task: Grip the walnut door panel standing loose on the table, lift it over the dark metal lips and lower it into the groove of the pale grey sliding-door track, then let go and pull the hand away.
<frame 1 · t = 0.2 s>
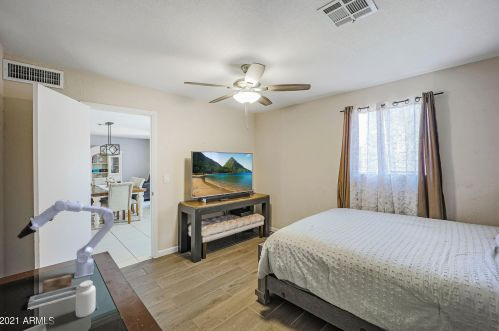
hand: (20, 235, 117), 31 cm above the table, tool tilted 45°, fingers open, 7 cm apart
door panel: (57, 290, 120), on the table
pill bottle: (85, 312, 106), on the table
track: (55, 298, 114), on the table
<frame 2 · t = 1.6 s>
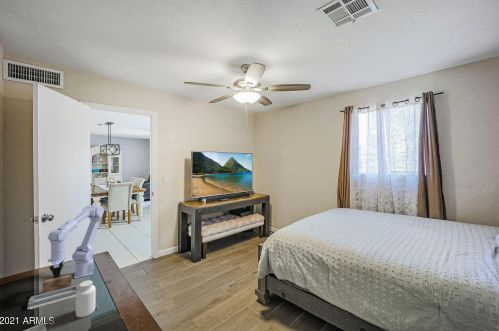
hand: (57, 274, 120), 9 cm above the table, tool pointing down, fingers open, 7 cm apart
nothing on the table moved.
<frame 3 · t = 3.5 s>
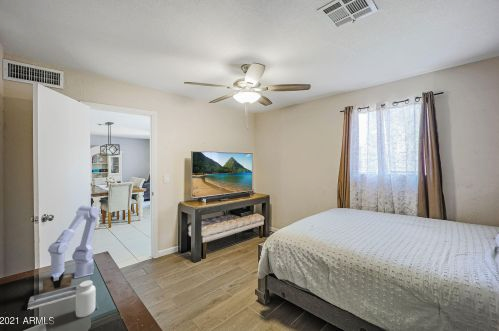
hand: (57, 286, 120), 2 cm above the table, tool pointing down, fingers closed on door panel, 2 cm apart
door panel: (57, 290, 120), on the table, touching gripper
everything else where it was.
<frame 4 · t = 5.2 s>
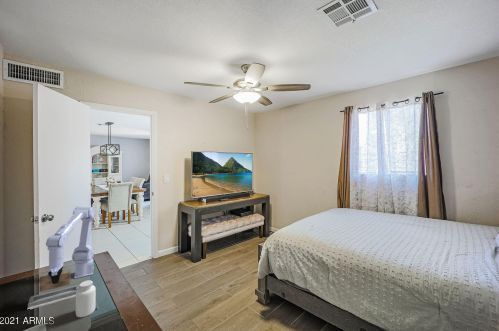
hand: (55, 281, 114), 9 cm above the table, tool pointing down, fingers closed on door panel, 2 cm apart
door panel: (55, 287, 114), point 6 cm above the table, touching gripper
everything else where it was.
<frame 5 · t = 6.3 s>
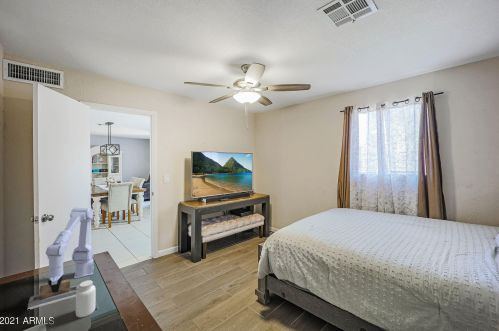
hand: (55, 290, 114), 4 cm above the table, tool pointing down, fingers closed on door panel, 2 cm apart
door panel: (55, 295, 114), point 1 cm above the table, touching gripper
everything else where it was.
when the fingers open (4 cm above the table, at t = 7.0 s): door panel stays where it is, resting on track.
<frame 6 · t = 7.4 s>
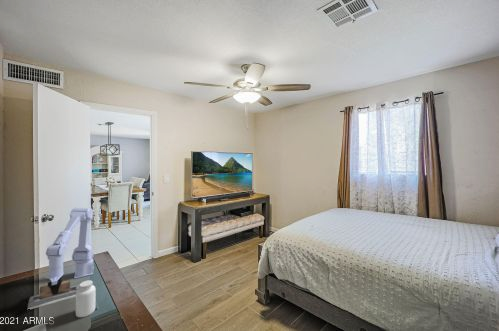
hand: (55, 290, 114), 4 cm above the table, tool pointing down, fingers open, 6 cm apart
door panel: (55, 296, 114), point 1 cm above the table, touching track
everything else where it was.
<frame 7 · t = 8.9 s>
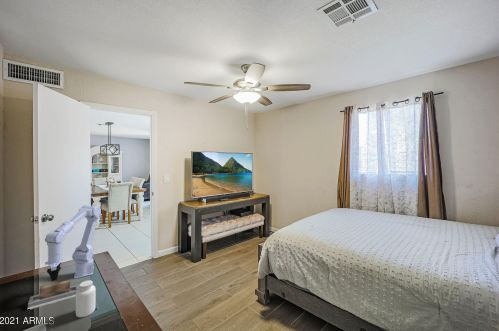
hand: (55, 276, 118), 9 cm above the table, tool pointing down, fingers open, 7 cm apart
nothing on the table moved.
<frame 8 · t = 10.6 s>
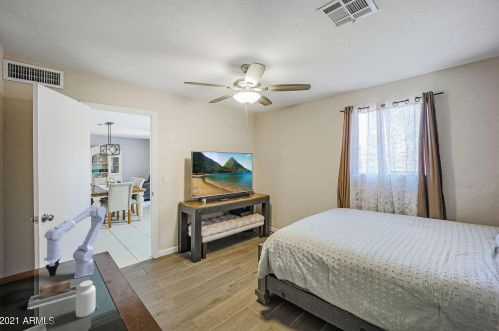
hand: (53, 272, 121), 9 cm above the table, tool pointing down, fingers open, 7 cm apart
nothing on the table moved.
at the end: door panel inside the target area on the track (0.2 cm from its centre), point 0.8 cm above the track's base; door panel tilted 0°; the gripper is holding nothing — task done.
